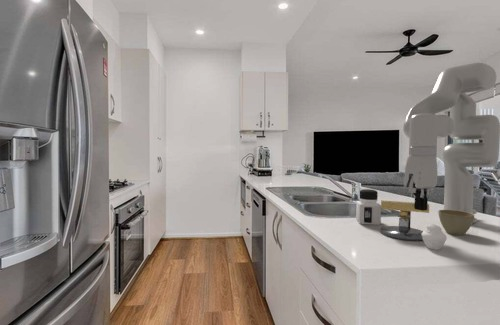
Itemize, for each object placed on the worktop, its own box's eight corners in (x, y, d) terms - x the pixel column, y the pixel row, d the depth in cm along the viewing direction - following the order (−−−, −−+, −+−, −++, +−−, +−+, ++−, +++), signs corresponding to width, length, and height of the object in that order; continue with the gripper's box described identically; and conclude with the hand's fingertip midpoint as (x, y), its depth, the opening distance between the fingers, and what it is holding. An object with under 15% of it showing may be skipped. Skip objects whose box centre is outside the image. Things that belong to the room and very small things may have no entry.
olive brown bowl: (430, 230, 98) (431, 210, 98) (450, 228, 102) (451, 208, 102) (460, 239, 89) (461, 217, 89) (480, 235, 93) (481, 214, 92)
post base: (399, 227, 103) (399, 200, 103) (437, 237, 90) (438, 207, 90) (371, 231, 97) (372, 203, 97) (408, 243, 84) (409, 210, 84)
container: (380, 225, 105) (381, 191, 105) (359, 224, 107) (360, 190, 106) (375, 220, 113) (376, 188, 113) (355, 219, 115) (356, 188, 114)
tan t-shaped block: (380, 214, 97) (381, 200, 97) (427, 218, 92) (428, 203, 91) (380, 216, 95) (381, 201, 95) (428, 220, 89) (429, 204, 89)
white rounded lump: (428, 251, 78) (429, 226, 77) (416, 244, 84) (417, 221, 83) (451, 252, 77) (452, 227, 77) (437, 244, 83) (438, 221, 83)
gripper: (426, 152, 95) (424, 205, 96) (395, 152, 89) (394, 209, 90) (449, 153, 88) (447, 210, 89) (418, 152, 82) (416, 214, 83)
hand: (420, 209), depth 89 cm, fingers closed
